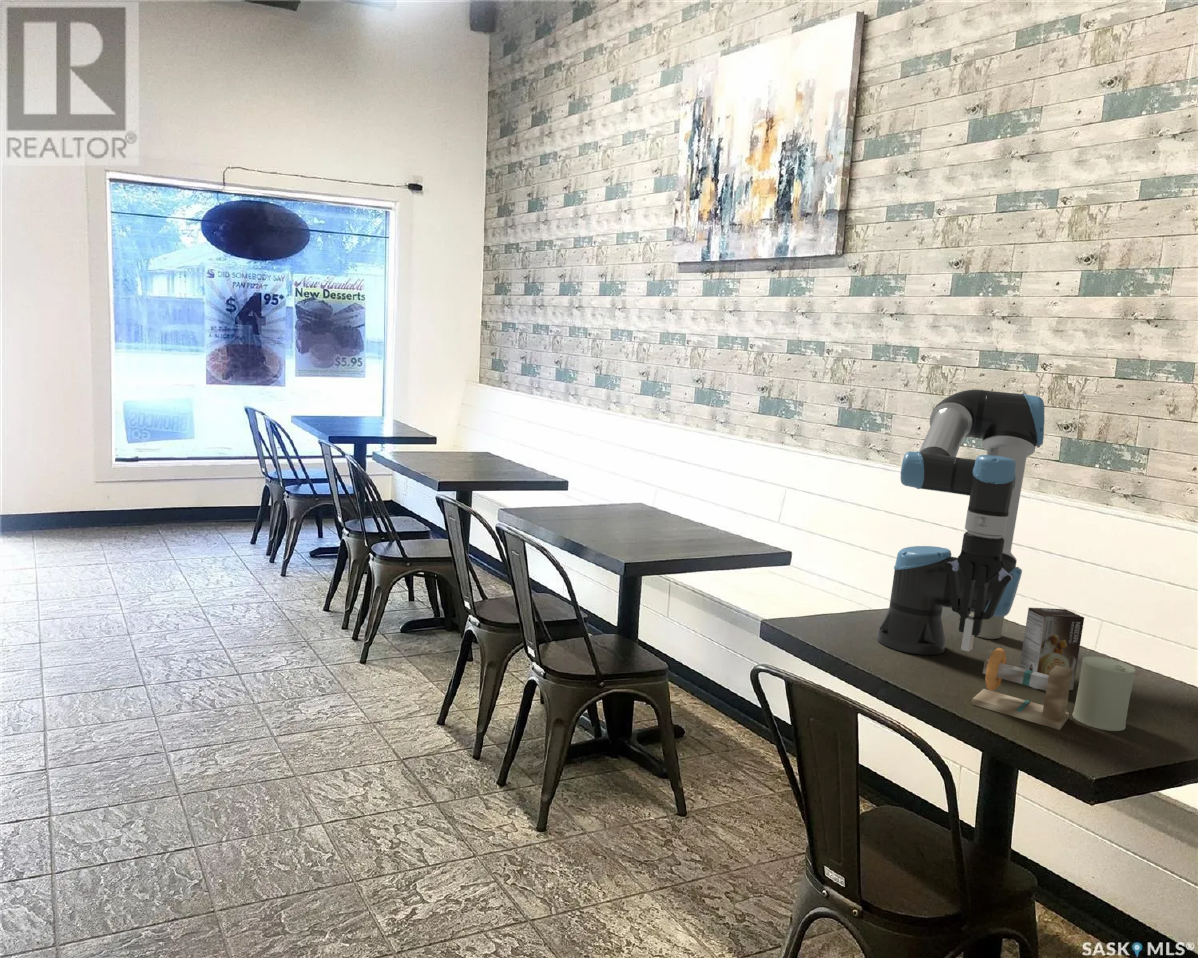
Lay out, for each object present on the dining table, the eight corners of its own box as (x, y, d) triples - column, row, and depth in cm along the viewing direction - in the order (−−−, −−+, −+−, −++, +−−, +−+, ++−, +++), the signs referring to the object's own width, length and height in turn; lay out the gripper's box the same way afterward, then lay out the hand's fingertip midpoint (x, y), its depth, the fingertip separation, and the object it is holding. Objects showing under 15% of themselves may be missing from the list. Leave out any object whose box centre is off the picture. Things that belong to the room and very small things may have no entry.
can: (1102, 733, 178) (1113, 671, 176) (1061, 713, 186) (1071, 654, 184) (1136, 729, 182) (1147, 669, 180) (1094, 710, 190) (1104, 652, 188)
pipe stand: (971, 704, 187) (979, 655, 185) (982, 694, 193) (990, 646, 192) (1059, 729, 177) (1068, 678, 176) (1068, 718, 184) (1076, 668, 182)
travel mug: (1005, 636, 237) (1017, 566, 234) (992, 641, 231) (1004, 570, 229) (974, 627, 243) (985, 559, 240) (961, 632, 237) (972, 562, 234)
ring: (981, 691, 185) (988, 652, 184) (992, 682, 192) (998, 644, 191) (992, 694, 184) (998, 655, 183) (1003, 685, 191) (1009, 646, 190)
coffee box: (1054, 679, 207) (1066, 608, 204) (1073, 690, 201) (1086, 617, 198) (1016, 678, 205) (1028, 606, 203) (1034, 689, 199) (1046, 615, 197)
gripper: (945, 529, 188) (928, 644, 191) (1014, 543, 180) (995, 662, 184) (956, 525, 194) (939, 637, 197) (1024, 538, 186) (1005, 654, 190)
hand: (966, 649), depth 191 cm, fingers closed
